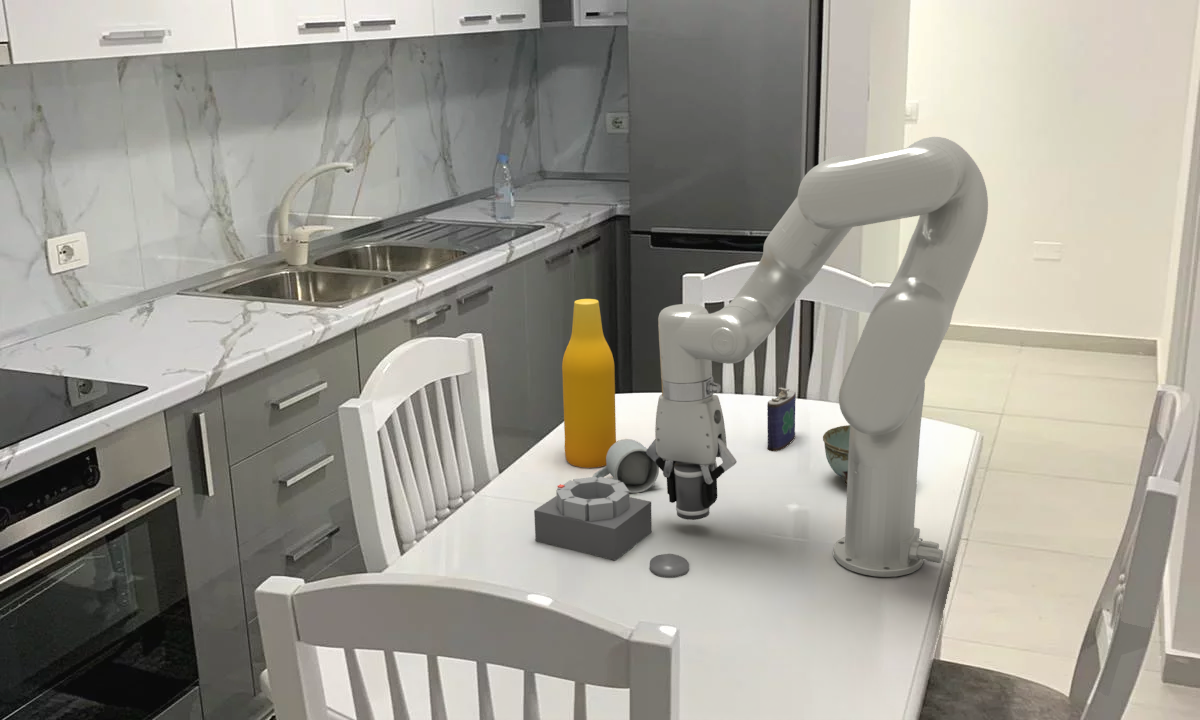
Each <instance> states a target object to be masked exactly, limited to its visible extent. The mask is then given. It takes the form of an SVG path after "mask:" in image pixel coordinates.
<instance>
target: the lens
mask: <svg viewBox="0 0 1200 720" xmlns="http://www.w3.org/2000/svg"><path fill="white" fill-rule="evenodd" d="M674 473H675V490H676V501H675V502H676V503H675V504H676V505H675V510H676V511H675V512H676V516H677V517H678V518H679V519H683V520H687V521H689V520H690V521H692V520H693V521H695V520H696V521H697V520H701V519H704V518H707V517H708V516H709V515H710V509H711V506H710V507H709V508H704V507H703V502H702V484H703V483H704V482H705V479H704V476H703V473H702V470H701V466H700V465H699V464H691V463H684V462H678V461H677V462H675V464H674Z"/></svg>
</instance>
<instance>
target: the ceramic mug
mask: <svg viewBox="0 0 1200 720" xmlns="http://www.w3.org/2000/svg"><path fill="white" fill-rule="evenodd" d="M647 449H648V448H647V447H646V446H644V445H643V443H640V442H639V441H638V440H635V439H630V438H623V439H619V440H618V441H617V440H616V443H614V444H613V445H612V446H611V447H610V448H609V450H608V452H607V456H606V464H607V465H606V466H603V467H601V469H599V470H598V471H596V472H595V473H594V474H593V475H592V476H591V477H597V478H599V477H604V478H606V477H607V476H608V475H611V478H610V479H614V480H618V481H620V482H623V483H624V484H625V486H626V487H627V489H628V490H629V494H640V493H644V492H646V491H647V490H648V489H651V488H652V487H653V485H654V484H655V483H656V481H657V479H658V476H659V472H660V468H659V467H658V466H657V464H656V462H655V461H654V460H652V459H651V458H650V457H649V456H648V455H647V454H646V450H647Z"/></svg>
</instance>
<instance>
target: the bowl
mask: <svg viewBox="0 0 1200 720" xmlns="http://www.w3.org/2000/svg"><path fill="white" fill-rule="evenodd" d="M849 436H850V424H848V425H839V426H837V427H833V428H830V429H828V430H827V431H825V432H824V434H823V436H822V441H823V442H824V451H825V452H824V453H825V457H826V460H827V463H828V465H829V466H830V468H831V470H832V471H833V472H834V473H835V474H836V475H837V476H838V477H840V478H841V479H843V482H844V484H845V485H846V486H847V479H848V454H849Z"/></svg>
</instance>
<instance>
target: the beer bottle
mask: <svg viewBox="0 0 1200 720" xmlns="http://www.w3.org/2000/svg"><path fill="white" fill-rule="evenodd" d="M602 324H603V323H602V316H601V310H600V302H599V300H598V299H595V298H581V299H577V300H574V303H573V315H572V326H571V327H572V329H571V335H570V339H569V342H568V344H567V346H566V349H565V351H564V353H563V358H562V364H561V370H562V396H563V397H562V399H563V425H564V426H563V427H564V456H565V460H566V462H567V463H568V464H569V465H571V466H574V467H577V468H582V469H583V468H585V469H594V468H603V467H605V466H606V465H607V464H606V456H607V452H608V450H609V448H610V447H611V446H612V445H613V444H614V443H616V442H617V429H616V428H617V426H616V425H617V424H616V422H617V421H616V419H617V418H616V384H615V383H616V380H615V378H616V377H615V374H616V373H615V361H614V357H613V352H612V350H611V347H610V346H609V344H608V342H607V340H606V338H605V335H604V332H603V325H602Z"/></svg>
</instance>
